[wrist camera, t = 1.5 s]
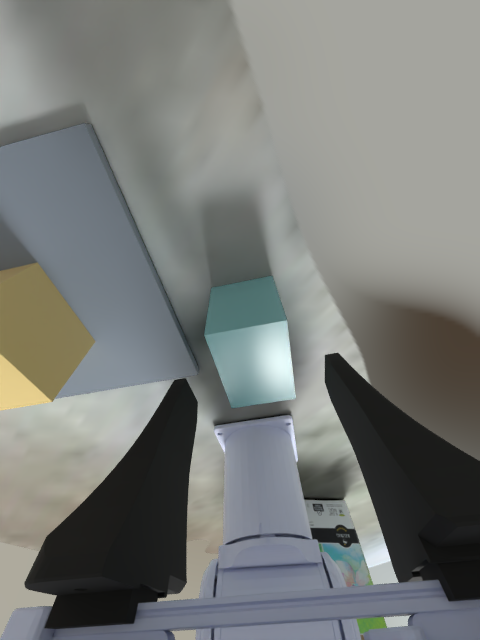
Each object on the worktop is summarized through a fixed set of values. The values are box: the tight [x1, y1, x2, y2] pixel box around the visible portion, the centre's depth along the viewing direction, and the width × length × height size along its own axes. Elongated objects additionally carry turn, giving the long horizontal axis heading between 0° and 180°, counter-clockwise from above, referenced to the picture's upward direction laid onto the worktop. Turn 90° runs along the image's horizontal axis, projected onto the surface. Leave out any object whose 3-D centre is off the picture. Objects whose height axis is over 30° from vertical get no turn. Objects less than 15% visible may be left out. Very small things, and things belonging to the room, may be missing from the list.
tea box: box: [304, 500, 387, 640], centre depth 33 cm, size 15×10×15 cm, turn 82°
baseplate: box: [0, 123, 199, 399], centre depth 15 cm, size 16×14×1 cm
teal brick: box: [204, 276, 296, 408], centre depth 15 cm, size 6×4×5 cm, turn 12°
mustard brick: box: [0, 262, 96, 410], centre depth 13 cm, size 6×4×5 cm, turn 12°
